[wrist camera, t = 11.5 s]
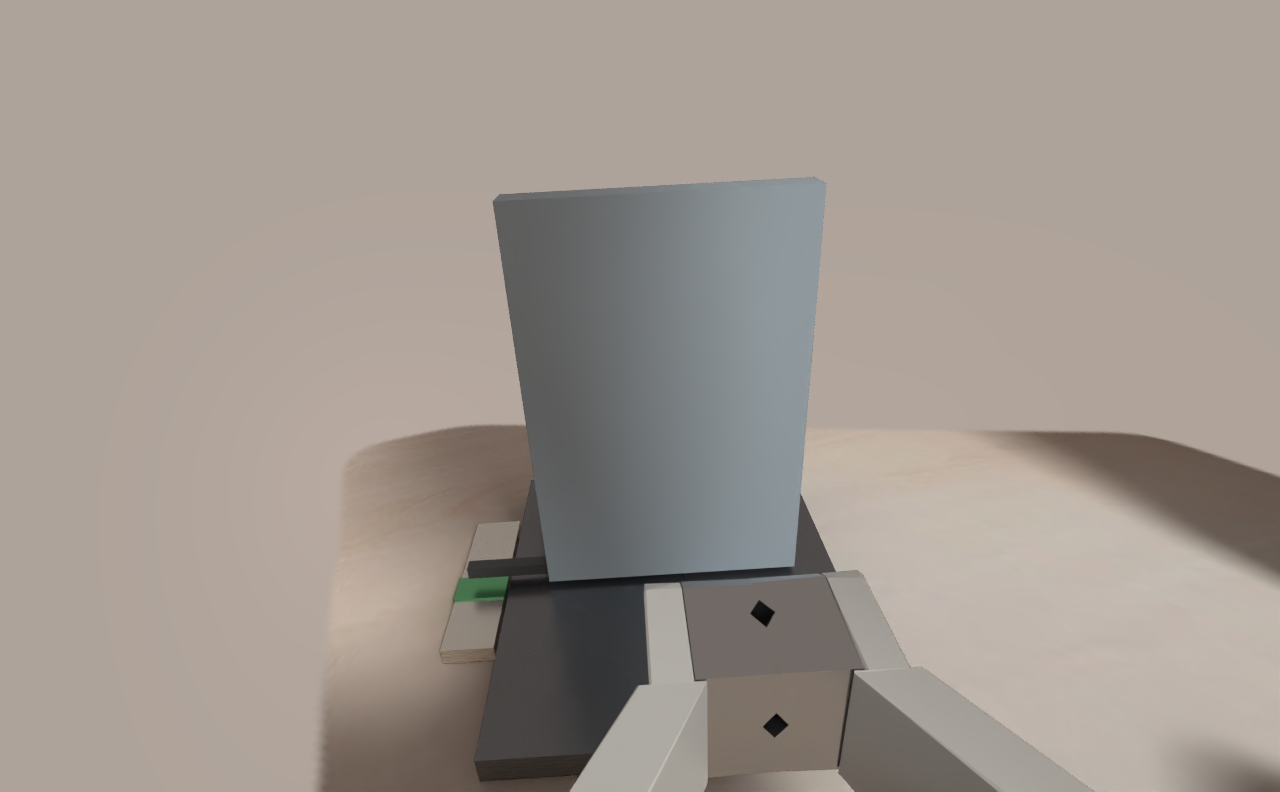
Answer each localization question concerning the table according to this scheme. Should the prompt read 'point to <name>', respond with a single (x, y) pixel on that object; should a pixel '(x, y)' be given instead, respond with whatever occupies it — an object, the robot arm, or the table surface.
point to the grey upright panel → (663, 372)
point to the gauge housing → (563, 647)
